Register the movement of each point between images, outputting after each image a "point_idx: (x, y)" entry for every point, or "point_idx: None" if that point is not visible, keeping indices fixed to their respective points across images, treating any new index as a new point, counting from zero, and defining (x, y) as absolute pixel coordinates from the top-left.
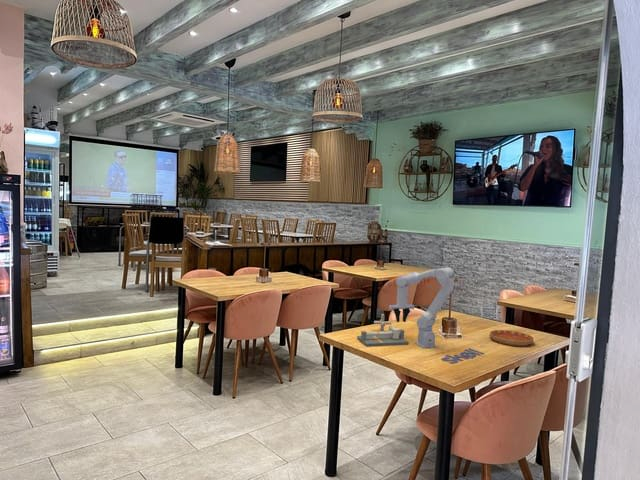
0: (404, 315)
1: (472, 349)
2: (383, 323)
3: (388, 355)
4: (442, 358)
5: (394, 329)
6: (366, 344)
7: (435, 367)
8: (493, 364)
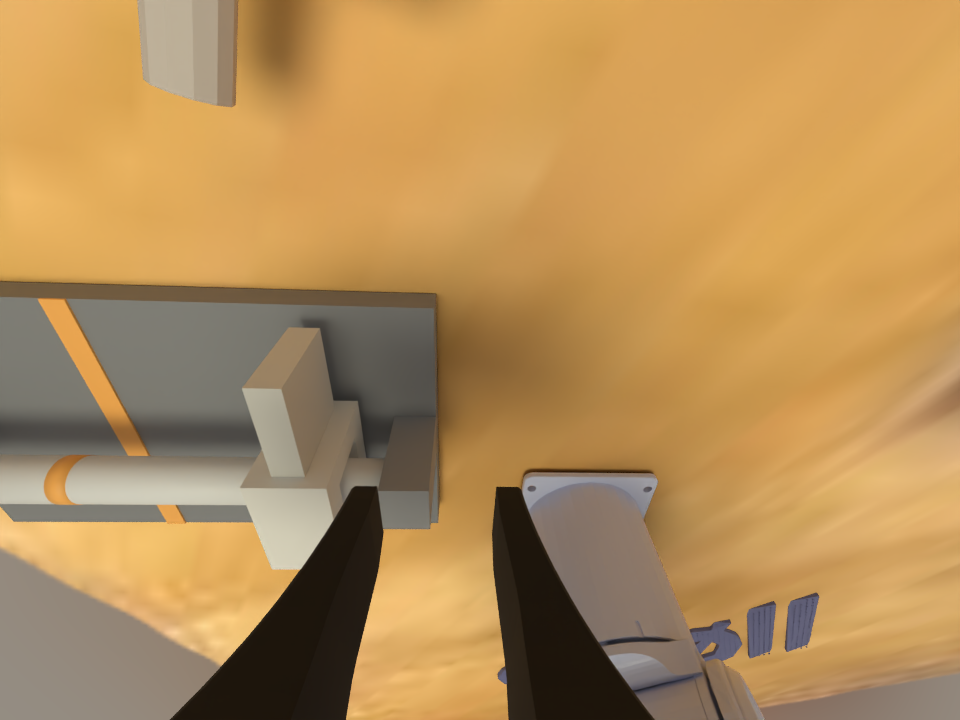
0: (511, 659)
1: (811, 610)
2: (167, 74)
3: (213, 619)
4: None
5: (278, 558)
6: (18, 515)
7: (414, 708)
8: None
